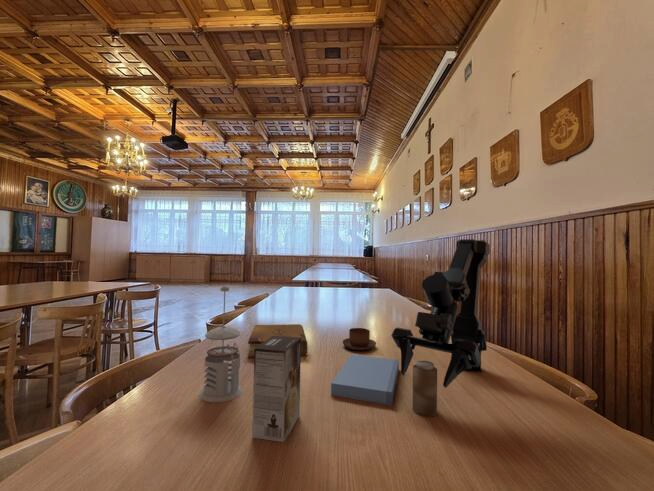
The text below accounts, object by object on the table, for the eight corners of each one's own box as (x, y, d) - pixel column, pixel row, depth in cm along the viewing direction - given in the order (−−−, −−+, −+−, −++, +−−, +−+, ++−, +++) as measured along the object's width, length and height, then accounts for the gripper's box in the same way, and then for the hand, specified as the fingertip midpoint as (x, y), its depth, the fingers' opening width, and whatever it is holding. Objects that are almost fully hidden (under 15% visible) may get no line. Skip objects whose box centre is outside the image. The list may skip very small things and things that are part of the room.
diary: (307, 358, 97) (307, 340, 97) (247, 359, 94) (248, 341, 94) (302, 338, 119) (302, 323, 120) (254, 339, 117) (254, 324, 117)
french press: (231, 379, 78) (234, 283, 79) (254, 395, 70) (258, 287, 70) (192, 391, 71) (196, 285, 72) (213, 410, 63) (217, 290, 63)
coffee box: (270, 412, 62) (272, 334, 63) (300, 416, 61) (302, 336, 62) (250, 438, 53) (253, 347, 54) (284, 443, 52) (287, 350, 53)
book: (398, 370, 88) (398, 359, 88) (391, 406, 66) (392, 392, 67) (351, 364, 92) (351, 354, 92) (330, 396, 71) (331, 382, 71)
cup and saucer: (343, 341, 115) (344, 325, 115) (375, 343, 113) (375, 327, 113) (341, 351, 103) (341, 333, 103) (376, 354, 101) (376, 335, 102)
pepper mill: (436, 406, 66) (436, 361, 66) (437, 418, 61) (438, 369, 62) (412, 403, 68) (413, 358, 68) (412, 414, 63) (412, 366, 63)
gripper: (395, 294, 74) (371, 349, 66) (477, 303, 62) (460, 372, 54) (409, 321, 80) (388, 375, 71) (486, 334, 68) (472, 401, 59)
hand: (422, 380), depth 64 cm, fingers open, 9 cm apart
